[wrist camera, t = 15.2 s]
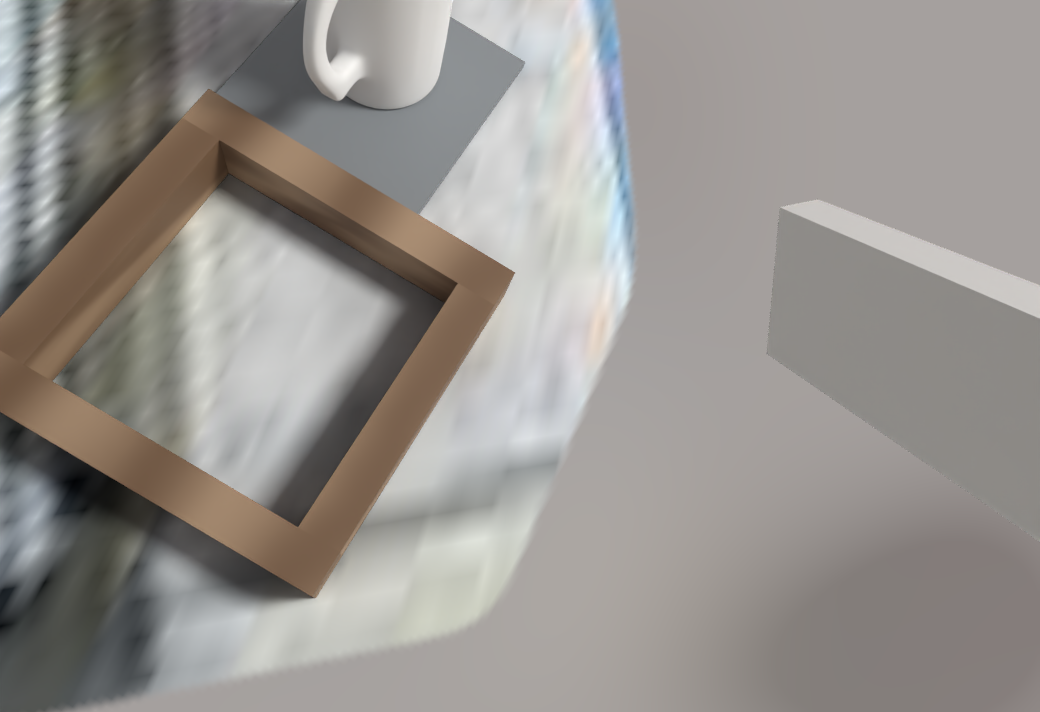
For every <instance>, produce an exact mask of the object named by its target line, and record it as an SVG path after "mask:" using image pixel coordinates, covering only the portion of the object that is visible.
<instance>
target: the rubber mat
mask: <svg viewBox="0 0 1040 712" xmlns="http://www.w3.org/2000/svg"><path fill="white" fill-rule="evenodd" d="M306 3H307V0H300V1H299V2H298V3H297V4H296V5H295V6H294V8H293V9H292V10H291V11H290V12H289V13H288V14H287V15H286V16H285V17H284V19H283V20H282V21H281V22H280V23H279V24H278V25H277V26H276V27H275V29H274V30H273V31H272V32H271V33H270V34H269V35H268V36H267V37H266V38H265V40H264V41H263V42H262V43H261V44H260V45H259V46H258V47H257V48H256V50H255V51H254V52H253V53H252V54H251V55H250V56H249V57H248V58H247V60H246V61H245V62H244V63H243V64H242V65H241V66H240V67H239V68H238V69H237V71H236V72H235V73H234V74H233V75H232V76H231V77H230V78H229V79H228V81H227V82H226V83H225V84H224V85H223V86H222V87H221V88H220V89H219V91H218V92H217V94H218V95H220V96H222V97H223V98H225V99H227V100H228V101H230V102H232V103H233V104H235V105H237V106H238V107H240V108H242V109H243V110H245V111H247V112H248V113H250V114H252V115H253V116H255V117H257V118H258V119H260V120H262V121H263V122H265V123H267V124H268V125H270V126H272V127H273V128H275V129H277V130H278V131H280V132H282V133H283V134H285V135H287V136H288V137H290V138H292V139H293V140H295V141H297V142H298V143H300V144H302V145H303V146H305V147H307V148H308V149H310V150H312V151H313V152H315V153H317V154H318V155H320V156H322V157H323V158H325V159H327V160H328V161H330V162H332V163H333V164H335V165H337V166H338V167H340V168H342V169H343V170H345V171H347V172H348V173H350V174H352V175H353V176H355V177H357V178H358V179H360V180H362V181H363V182H365V183H367V184H368V185H370V186H372V187H373V188H375V189H377V190H378V191H380V192H382V193H383V194H385V195H387V196H388V197H390V198H392V199H393V200H395V201H397V202H398V203H400V204H402V205H403V206H405V207H407V208H408V209H410V210H412V211H413V212H415V213H417V214H418V215H419V214H420V212H421V211H422V209H423V208H424V207H425V205H426V204H427V202H428V201H429V199H430V198H431V197H432V195H433V194H434V192H435V191H436V190H437V188H438V187H439V185H440V184H441V183H442V181H443V180H444V178H445V177H446V175H447V174H448V173H449V171H450V170H451V168H452V167H453V166H454V164H455V163H456V161H457V160H458V159H459V157H460V156H461V154H462V153H463V151H464V150H465V149H466V147H467V146H468V144H469V143H470V142H471V140H472V139H473V137H474V136H475V135H476V133H477V132H478V130H479V129H480V127H481V126H482V125H483V123H484V122H485V120H486V119H487V118H488V116H489V115H490V113H491V112H492V111H493V109H494V108H495V106H496V105H497V103H498V102H499V101H500V99H501V98H502V96H503V95H504V94H505V92H506V91H507V89H508V88H509V87H510V85H511V84H512V82H513V81H514V79H515V78H516V77H517V75H518V74H519V72H520V71H521V70H522V68H523V67H524V64H525V62H524V61H523V60H521V59H519V58H518V57H516V56H514V55H513V54H511V53H509V52H508V51H506V50H504V49H503V48H501V47H499V46H498V45H496V44H494V43H493V42H491V41H489V40H488V39H486V38H484V37H483V36H481V35H480V34H478V33H476V32H475V31H473V30H471V29H470V28H468V27H466V26H465V25H463V24H461V23H460V22H458V21H456V20H455V19H453V18H451V17H450V21H449V27H448V33H447V39H446V44H445V49H444V54H443V59H442V64H441V69H440V74H439V77H438V80H437V82H436V84H435V86H434V87H433V89H432V90H431V91H430V92H429V94H428V95H426V96H425V97H424V98H423V99H421V100H420V101H418V102H416V103H414V104H412V105H410V106H407V107H403V108H398V109H377V108H372V107H368V106H365V105H362V104H360V103H357V102H355V101H354V100H352V99H350V98H349V97H347V96H346V95H345V97H344V98H343V99H342V100H340V101H335V100H333V99H331V98H329V97H327V96H325V95H324V94H322V93H321V92H320V91H319V89H318V88H317V86H316V85H315V84H314V83H313V81H312V80H311V78H310V77H309V75H308V73H307V70H306V67H305V63H304V56H303V29H304V18H305V10H306Z"/></svg>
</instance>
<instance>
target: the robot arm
mask: <svg viewBox="0 0 1040 712" xmlns="http://www.w3.org/2000/svg"><path fill="white" fill-rule="evenodd" d="M767 354H768V355H769V356H771V357H772V358H774V359H775V360H777V361H778V362H780V363H781V364H782V365H784V366H785V367H787V368H788V369H790V370H791V371H792V372H794V373H796V374H797V375H798V376H800V377H801V378H803V379H804V380H806V381H807V382H808V383H810V384H811V385H813V386H814V387H816V388H817V389H819V390H820V391H822V392H823V393H824V394H826V395H828V396H829V397H830V398H832V399H833V400H835V401H836V402H838V403H839V404H840V405H842V406H843V407H845V408H846V409H848V410H849V411H851V412H852V413H853V414H855V415H856V416H858V417H859V418H861V419H862V420H864V421H865V422H867V423H868V424H869V425H871V426H872V427H874V428H875V429H877V430H878V431H880V432H881V433H883V434H884V435H885V436H887V437H888V438H890V439H892V440H893V441H894V442H896V443H897V444H899V445H900V446H901V447H903V448H904V449H906V450H907V451H909V452H910V453H912V454H913V455H915V456H916V457H917V458H919V459H921V460H922V461H923V462H925V463H926V464H928V465H929V466H930V467H932V468H933V469H935V470H936V471H938V472H939V473H941V474H942V475H944V476H945V477H947V478H948V479H949V480H951V481H952V482H954V483H955V484H957V485H958V486H960V487H961V488H962V489H964V490H965V491H967V492H968V493H970V494H971V495H973V496H974V497H976V498H977V499H978V500H980V501H981V502H983V503H985V504H986V505H987V506H989V507H990V508H991V509H993V510H994V511H996V512H997V513H999V514H1000V515H1002V516H1003V517H1005V518H1006V519H1007V520H1009V521H1010V522H1012V523H1014V524H1015V525H1016V526H1018V527H1019V528H1021V529H1022V530H1023V531H1025V532H1026V533H1028V534H1029V535H1031V536H1032V537H1034V538H1035V539H1036V540H1038V541H1039V542H1040V286H1039V285H1037V284H1035V283H1032V282H1029V281H1027V280H1024V279H1022V278H1019V277H1016V276H1014V275H1011V274H1009V273H1006V272H1004V271H1001V270H999V269H996V268H994V267H991V266H988V265H985V264H983V263H981V262H978V261H976V260H973V259H970V258H968V257H965V256H962V255H960V254H957V253H955V252H952V251H950V250H947V249H945V248H942V247H939V246H937V245H934V244H932V243H929V242H926V241H924V240H921V239H919V238H916V237H914V236H911V235H909V234H906V233H903V232H901V231H898V230H896V229H893V228H891V227H888V226H886V225H883V224H880V223H878V222H875V221H873V220H870V219H867V218H865V217H862V216H860V215H857V214H855V213H852V212H850V211H847V210H844V209H842V208H839V207H837V206H834V205H832V204H829V203H826V202H824V201H821V200H819V199H817V200H813V201H808V202H803V203H798V204H793V205H789V206H784V207H780V211H779V222H778V233H777V244H776V256H775V266H774V278H773V288H772V300H771V311H770V322H769V333H768V344H767Z"/></svg>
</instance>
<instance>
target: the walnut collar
mask: <svg viewBox="0 0 1040 712" xmlns="http://www.w3.org/2000/svg"><path fill="white" fill-rule="evenodd" d="M228 174H231V175H232V176H234V177H236V178H237V179H239V180H241V181H242V182H244V183H246V184H247V185H249V186H251V187H252V188H254V189H256V190H257V191H259V192H261V193H262V194H264V195H266V196H267V197H269V198H271V199H272V200H274V201H276V202H277V203H279V204H281V205H282V206H284V207H286V208H287V209H289V210H291V211H292V212H294V213H296V214H298V215H299V216H301V217H303V218H304V219H306V220H308V221H309V222H311V223H313V224H314V225H316V226H318V227H319V228H321V229H323V230H324V231H326V232H328V233H329V234H331V235H333V236H334V237H336V238H338V239H339V240H341V241H343V242H344V243H346V244H348V245H349V246H351V247H353V248H354V249H356V250H358V251H359V252H361V253H363V254H364V255H366V256H368V257H369V258H371V259H373V260H374V261H376V262H378V263H379V264H381V265H383V266H384V267H386V268H388V269H389V270H391V271H393V272H394V273H396V274H398V275H399V276H401V277H403V278H404V279H406V280H408V281H409V282H411V283H413V284H414V285H416V286H418V287H419V288H421V289H423V290H424V291H426V292H428V293H429V294H431V295H433V296H434V297H436V298H438V299H439V300H441V301H443V302H444V303H445V304H444V305H443V307H442V308H441V310H440V311H439V313H438V314H437V316H436V318H435V319H434V321H433V322H432V324H431V325H430V327H429V328H428V330H427V331H426V333H425V334H424V336H423V337H422V339H421V340H420V342H419V343H418V345H417V347H416V348H415V350H414V351H413V353H412V354H411V356H410V357H409V359H408V360H407V362H406V363H405V365H404V366H403V368H402V369H401V371H400V372H399V374H398V375H397V377H396V379H395V380H394V382H393V383H392V385H391V386H390V388H389V389H388V391H387V392H386V394H385V395H384V397H383V398H382V400H381V401H380V403H379V404H378V406H377V407H376V409H375V411H374V412H373V414H372V415H371V417H370V418H369V420H368V421H367V423H366V424H365V426H364V427H363V429H362V430H361V432H360V433H359V435H358V436H357V438H356V440H355V441H354V443H353V444H352V446H351V447H350V449H349V450H348V452H347V453H346V455H345V456H344V458H343V459H342V461H341V462H340V464H339V465H338V467H337V468H336V470H335V472H334V473H333V475H332V476H331V478H330V479H329V481H328V482H327V484H326V485H325V487H324V488H323V490H322V491H321V493H320V494H319V496H318V497H317V499H316V501H315V502H314V504H313V505H312V507H311V508H310V510H309V511H308V513H307V514H306V516H305V517H304V519H303V520H302V522H301V523H300V525H299V526H298V527H297V526H295V525H293V524H292V523H290V522H288V521H287V520H285V519H283V518H282V517H280V516H278V515H276V514H275V513H273V512H271V511H270V510H268V509H266V508H265V507H263V506H261V505H260V504H258V503H256V502H255V501H253V500H251V499H250V498H248V497H246V496H244V495H243V494H241V493H239V492H238V491H236V490H234V489H233V488H231V487H229V486H228V485H226V484H224V483H223V482H221V481H219V480H218V479H216V478H214V477H212V476H211V475H209V474H207V473H206V472H204V471H202V470H201V469H199V468H197V467H196V466H194V465H192V464H191V463H189V462H187V461H186V460H184V459H182V458H180V457H179V456H177V455H175V454H174V453H172V452H170V451H169V450H167V449H165V448H164V447H162V446H160V445H159V444H157V443H155V442H154V441H152V440H150V439H148V438H147V437H145V436H143V435H142V434H140V433H138V432H137V431H135V430H133V429H132V428H130V427H128V426H127V425H125V424H123V423H122V422H120V421H118V420H116V419H115V418H113V417H111V416H110V415H108V414H106V413H105V412H103V411H101V410H100V409H98V408H96V407H95V406H93V405H91V404H90V403H88V402H86V401H84V400H83V399H81V398H79V397H78V396H76V395H74V394H73V393H71V392H69V391H68V390H66V389H64V388H63V387H61V386H59V385H57V384H56V383H54V382H52V381H53V380H54V379H55V377H56V376H57V375H58V374H59V373H60V372H61V370H62V369H63V368H64V367H65V366H66V364H67V363H68V362H69V361H70V360H71V359H72V357H73V356H74V355H75V354H76V353H77V352H78V350H79V349H80V348H81V347H82V346H83V344H84V343H85V342H86V341H87V340H88V339H89V337H90V336H91V335H92V334H93V333H94V331H95V330H96V329H97V328H98V327H99V326H100V324H101V323H102V322H103V321H104V320H105V319H106V317H107V316H108V315H109V314H110V313H111V311H112V310H113V309H114V308H115V307H116V306H117V304H118V303H119V302H120V301H121V300H122V299H123V297H124V296H125V295H126V294H127V293H128V291H129V290H130V289H131V288H132V287H133V286H134V284H135V283H136V282H137V281H138V280H139V278H140V277H141V276H142V275H143V274H144V273H145V271H146V270H147V269H148V268H149V267H150V266H151V264H152V263H153V262H154V261H155V260H156V258H157V257H158V256H159V255H160V254H161V253H162V251H163V250H164V249H165V248H166V247H167V246H168V244H169V243H170V242H171V241H172V240H173V238H174V237H175V236H176V235H177V234H178V233H179V231H180V230H181V229H182V228H183V227H184V225H185V224H186V223H187V222H188V221H189V220H190V218H191V217H192V216H193V215H194V214H195V213H196V211H197V210H198V209H199V208H200V207H201V205H202V204H203V203H204V202H205V201H206V200H207V198H208V197H209V196H210V195H211V194H212V193H213V191H214V190H215V189H216V188H217V187H218V185H219V184H220V183H221V182H222V181H223V180H224V178H225V177H226V176H227V175H228ZM514 274H515V272H513V271H512V270H510V269H508V268H507V267H505V266H503V265H502V264H500V263H498V262H497V261H495V260H493V259H492V258H490V257H488V256H487V255H485V254H483V253H482V252H480V251H478V250H477V249H475V248H473V247H472V246H470V245H468V244H467V243H465V242H463V241H462V240H460V239H458V238H457V237H455V236H453V235H452V234H450V233H448V232H447V231H445V230H443V229H442V228H440V227H438V226H437V225H435V224H433V223H432V222H430V221H428V220H427V219H425V218H423V217H422V216H420V215H418V214H417V213H415V212H413V211H412V210H410V209H408V208H407V207H405V206H403V205H402V204H400V203H398V202H397V201H395V200H393V199H392V198H390V197H388V196H387V195H385V194H383V193H382V192H380V191H378V190H377V189H375V188H373V187H372V186H370V185H368V184H367V183H365V182H363V181H362V180H360V179H358V178H357V177H355V176H353V175H352V174H350V173H348V172H347V171H345V170H343V169H342V168H340V167H338V166H337V165H335V164H333V163H332V162H330V161H328V160H327V159H325V158H323V157H322V156H320V155H318V154H317V153H315V152H313V151H312V150H310V149H308V148H307V147H305V146H303V145H302V144H300V143H298V142H297V141H295V140H293V139H292V138H290V137H288V136H287V135H285V134H283V133H282V132H280V131H278V130H277V129H275V128H273V127H272V126H270V125H268V124H267V123H265V122H263V121H262V120H260V119H258V118H257V117H255V116H253V115H252V114H250V113H248V112H247V111H245V110H243V109H242V108H240V107H238V106H237V105H235V104H233V103H232V102H230V101H228V100H227V99H225V98H223V97H222V96H220V95H218V94H217V93H215V92H213V91H212V90H210V89H208V90H207V91H206V92H205V93H204V94H203V95H202V96H201V98H200V99H199V100H198V101H197V102H196V103H195V104H194V105H193V106H192V107H191V109H190V110H189V111H188V112H187V113H186V114H185V115H184V116H183V117H182V118H181V120H180V121H179V122H178V123H177V124H176V125H175V126H174V127H173V128H172V129H171V130H170V132H169V133H168V134H167V135H166V136H165V137H164V138H163V139H162V140H161V141H160V143H159V144H158V145H157V146H156V147H155V148H154V149H153V150H152V151H151V152H150V154H149V155H148V156H147V157H146V158H145V159H144V160H143V161H142V162H141V163H140V164H139V166H138V167H137V168H136V169H135V170H134V171H133V172H132V173H131V174H130V175H129V177H128V178H127V179H126V180H125V181H124V182H123V183H122V184H121V185H120V186H119V188H118V189H117V190H116V191H115V192H114V193H113V194H112V195H111V196H110V197H109V199H108V200H107V201H106V202H105V203H104V204H103V205H102V206H101V207H100V208H99V209H98V211H97V212H96V213H95V214H94V215H93V216H92V217H91V218H90V219H89V220H88V222H87V223H86V224H85V225H84V226H83V227H82V228H81V229H80V230H79V231H78V233H77V234H76V235H75V236H74V237H73V238H72V239H71V240H70V241H69V242H68V243H67V245H66V246H65V247H64V248H63V249H62V250H61V251H60V252H59V253H58V254H57V256H56V257H55V258H54V259H53V260H52V261H51V262H50V263H49V264H48V265H47V267H46V268H45V269H44V270H43V271H42V272H41V273H40V274H39V275H38V276H37V278H36V279H35V280H34V281H33V282H32V283H31V284H30V285H29V286H28V287H27V288H26V290H25V291H24V292H23V293H22V294H21V295H20V296H19V297H18V298H17V299H16V301H15V302H14V303H13V304H12V305H11V306H10V307H9V308H8V309H7V310H6V312H5V313H4V314H3V315H2V316H1V317H0V412H1V413H3V414H4V415H6V416H8V417H10V418H11V419H13V420H15V421H16V422H18V423H20V424H21V425H23V426H25V427H26V428H28V429H30V430H31V431H33V432H35V433H37V434H38V435H40V436H42V437H43V438H45V439H47V440H48V441H50V442H52V443H53V444H55V445H57V446H58V447H60V448H62V449H64V450H65V451H67V452H69V453H70V454H72V455H74V456H75V457H77V458H79V459H80V460H82V461H84V462H85V463H87V464H89V465H91V466H92V467H94V468H96V469H97V470H99V471H101V472H102V473H104V474H106V475H107V476H109V477H111V478H112V479H114V480H116V481H118V482H119V483H121V484H123V485H124V486H126V487H128V488H129V489H131V490H133V491H134V492H136V493H138V494H139V495H141V496H143V497H145V498H146V499H148V500H150V501H151V502H153V503H155V504H156V505H158V506H160V507H161V508H163V509H165V510H166V511H168V512H170V513H172V514H173V515H175V516H177V517H178V518H180V519H182V520H183V521H185V522H187V523H188V524H190V525H192V526H193V527H195V528H197V529H199V530H200V531H202V532H204V533H205V534H207V535H209V536H210V537H212V538H214V539H215V540H217V541H219V542H220V543H222V544H224V545H226V546H227V547H229V548H231V549H232V550H234V551H236V552H237V553H239V554H241V555H242V556H244V557H246V558H247V559H249V560H251V561H253V562H254V563H256V564H258V565H259V566H261V567H263V568H264V569H266V570H268V571H269V572H271V573H273V574H274V575H276V576H278V577H280V578H281V579H283V580H285V581H286V582H288V583H290V584H291V585H293V586H295V587H296V588H298V589H300V590H301V591H303V592H305V593H307V594H308V595H310V596H312V597H314V598H316V597H317V595H318V594H319V592H320V590H321V589H322V587H323V585H324V584H325V582H326V581H327V579H328V577H329V576H330V574H331V573H332V571H333V569H334V568H335V566H336V565H337V563H338V561H339V560H340V558H341V557H342V555H343V553H344V552H345V550H346V549H347V547H348V545H349V544H350V542H351V541H352V539H353V537H354V536H355V534H356V533H357V531H358V529H359V528H360V526H361V525H362V523H363V521H364V520H365V518H366V517H367V515H368V513H369V512H370V510H371V508H372V507H373V505H374V504H375V502H376V500H377V499H378V497H379V496H380V494H381V492H382V491H383V489H384V488H385V486H386V484H387V483H388V481H389V480H390V478H391V476H392V475H393V473H394V472H395V470H396V468H397V467H398V465H399V464H400V462H401V460H402V459H403V457H404V456H405V454H406V452H407V451H408V449H409V448H410V446H411V444H412V443H413V441H414V440H415V438H416V436H417V435H418V433H419V432H420V430H421V428H422V427H423V425H424V423H425V422H426V420H427V419H428V417H429V415H430V414H431V412H432V411H433V409H434V407H435V406H436V404H437V403H438V401H439V399H440V398H441V396H442V395H443V393H444V391H445V390H446V388H447V387H448V385H449V383H450V382H451V380H452V379H453V377H454V375H455V374H456V372H457V371H458V369H459V367H460V366H461V364H462V363H463V361H464V359H465V358H466V356H467V355H468V353H469V351H470V350H471V348H472V346H473V345H474V343H475V342H476V340H477V338H478V337H479V335H480V334H481V332H482V330H483V329H484V327H485V326H486V324H487V322H488V321H489V319H490V318H491V316H492V314H493V313H494V311H495V310H496V308H497V306H498V305H499V303H500V302H501V300H502V298H503V297H504V295H505V293H506V291H507V288H508V286H509V284H510V282H511V280H512V278H513V276H514Z"/></svg>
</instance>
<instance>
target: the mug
mask: <svg viewBox="0 0 1040 712" xmlns="http://www.w3.org/2000/svg"><path fill="white" fill-rule="evenodd" d="M452 3H453V0H307V3H306V10H305V18H304V29H303V56H304V63H305V67H306V70H307V73H308V75H309V77H310V78H311V80H312V81H313V83H314V84H315V85H316V86H317V88H318V89H319V91H320V92H321V93H322V94H324V95H325V96H327V97H329V98H331V99H333V100H335V101H340V100H342V99H343V98H344V97H345V95H346V96H347V97H349V98H350V99H352V100H354V101H355V102H357V103H360V104H362V105H365V106H368V107H372V108H377V109H398V108H403V107H407V106H410V105H412V104H414V103H416V102H418V101H420V100H421V99H423V98H424V97H425V96H426V95H428V94H429V92H430V91H431V90H432V89H433V87H434V86H435V84H436V82H437V80H438V77H439V74H440V69H441V64H442V59H443V54H444V49H445V44H446V39H447V33H448V27H449V21H450V15H451V9H452Z"/></svg>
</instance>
